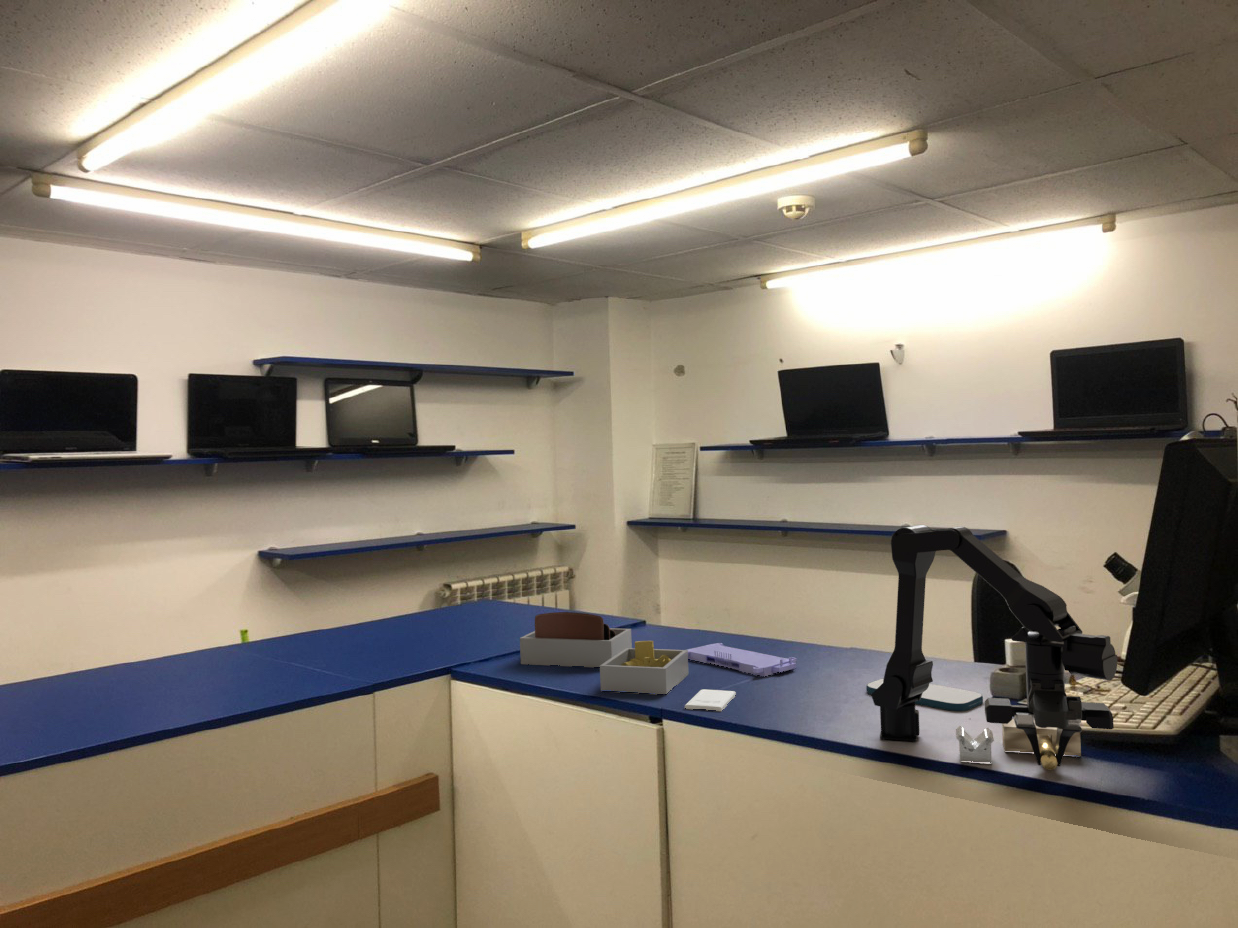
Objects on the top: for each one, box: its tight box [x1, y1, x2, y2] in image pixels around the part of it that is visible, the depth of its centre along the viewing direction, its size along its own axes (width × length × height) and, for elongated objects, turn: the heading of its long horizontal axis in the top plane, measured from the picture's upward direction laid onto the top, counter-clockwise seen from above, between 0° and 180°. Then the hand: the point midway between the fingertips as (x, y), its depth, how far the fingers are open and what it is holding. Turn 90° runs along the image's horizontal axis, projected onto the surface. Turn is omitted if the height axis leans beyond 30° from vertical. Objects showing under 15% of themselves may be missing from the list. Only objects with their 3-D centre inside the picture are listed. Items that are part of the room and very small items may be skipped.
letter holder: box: [534, 611, 616, 640], centre depth 240 cm, size 10×20×14 cm, turn 70°
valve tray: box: [599, 647, 689, 695], centre depth 214 cm, size 16×19×6 cm
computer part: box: [687, 642, 797, 678], centre depth 229 cm, size 30×4×15 cm
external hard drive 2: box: [865, 677, 984, 712], centre depth 193 cm, size 24×12×2 cm, turn 41°
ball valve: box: [621, 640, 671, 667], centre depth 215 cm, size 13×10×10 cm
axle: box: [1037, 734, 1058, 771], centre depth 151 cm, size 2×12×2 cm, turn 160°
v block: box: [955, 725, 995, 763], centre depth 154 cm, size 5×6×5 cm
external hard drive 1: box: [684, 689, 737, 712], centre depth 195 cm, size 2×8×12 cm
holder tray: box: [519, 627, 633, 668], centre depth 242 cm, size 26×16×7 cm, turn 70°
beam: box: [1001, 718, 1082, 757], centre depth 157 cm, size 12×5×5 cm, turn 70°
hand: (1048, 765), depth 147 cm, fingers closed on axle, 2 cm apart
